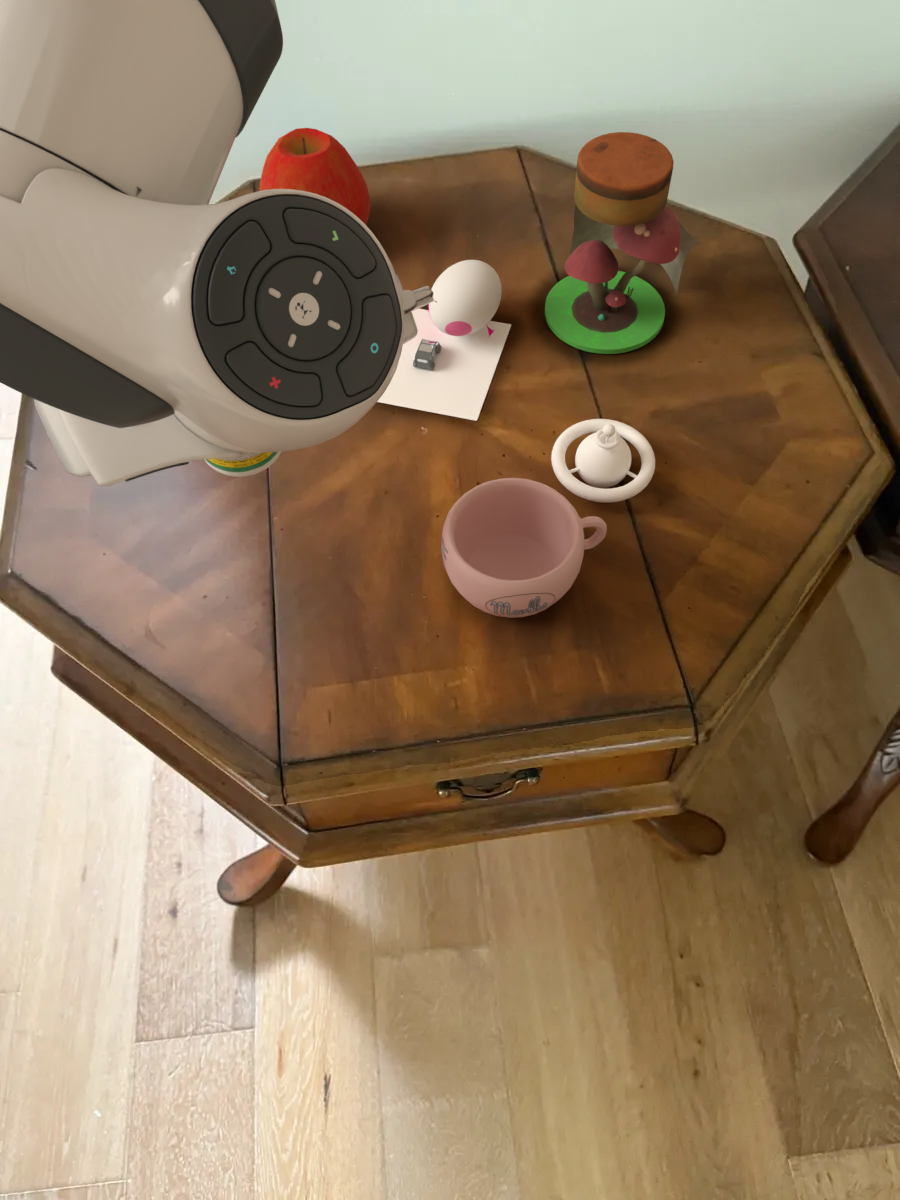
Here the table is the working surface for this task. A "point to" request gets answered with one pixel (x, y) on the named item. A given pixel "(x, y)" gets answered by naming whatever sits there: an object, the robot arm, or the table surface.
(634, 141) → the mushroom terrarium figurine
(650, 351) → the table surface
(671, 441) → the table surface
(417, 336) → the thin white square mat
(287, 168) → the apple
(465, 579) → the mug
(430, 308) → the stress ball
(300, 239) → the robot arm
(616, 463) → the ring around a ball
